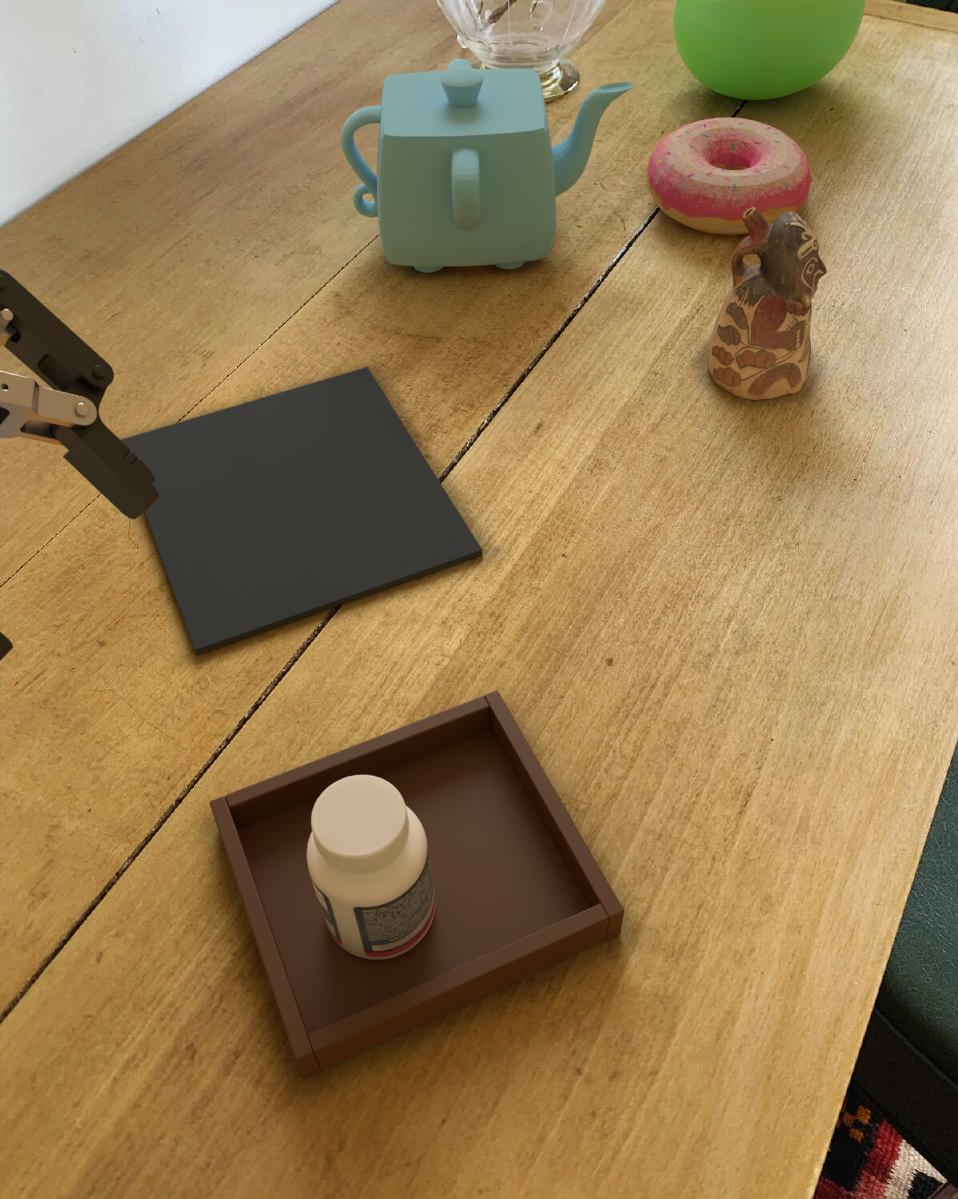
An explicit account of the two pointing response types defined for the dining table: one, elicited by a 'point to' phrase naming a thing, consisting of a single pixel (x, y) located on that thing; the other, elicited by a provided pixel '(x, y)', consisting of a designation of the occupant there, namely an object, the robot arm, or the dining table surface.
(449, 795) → the tray
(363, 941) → the pill bottle
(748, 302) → the figurine
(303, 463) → the mat
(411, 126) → the teapot
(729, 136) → the donut
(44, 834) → the dining table surface
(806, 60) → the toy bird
